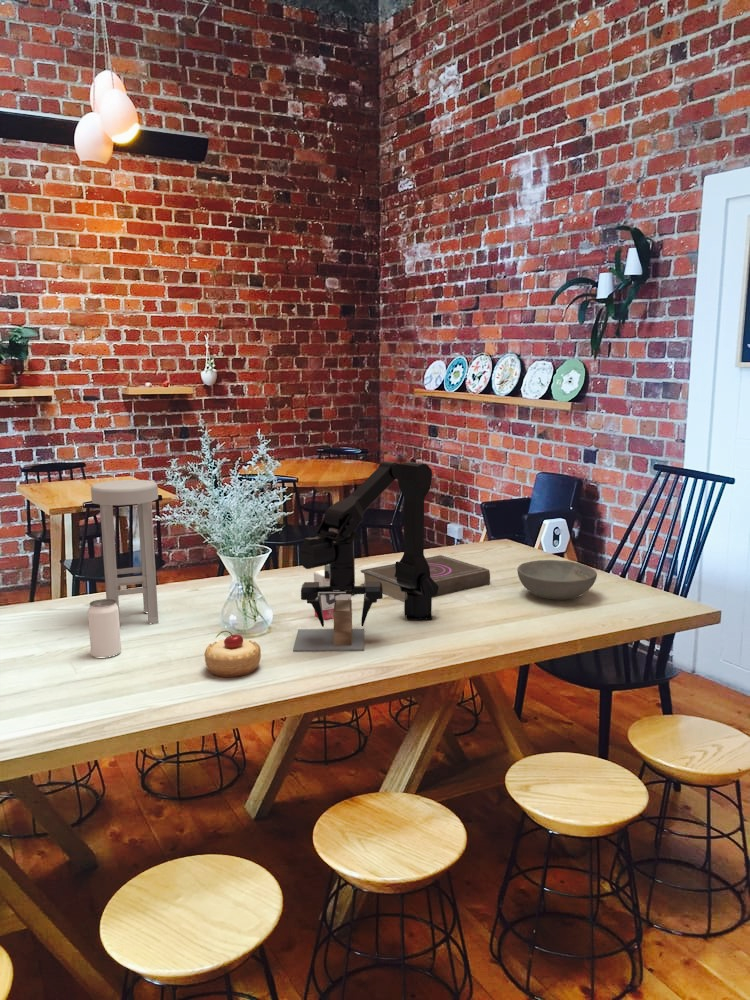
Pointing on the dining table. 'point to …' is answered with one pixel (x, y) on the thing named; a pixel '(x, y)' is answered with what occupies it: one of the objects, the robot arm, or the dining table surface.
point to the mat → (326, 640)
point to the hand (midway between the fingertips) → (342, 626)
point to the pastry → (232, 656)
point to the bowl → (556, 578)
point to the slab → (342, 622)
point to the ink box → (328, 596)
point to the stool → (143, 496)
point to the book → (433, 576)
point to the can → (104, 628)
